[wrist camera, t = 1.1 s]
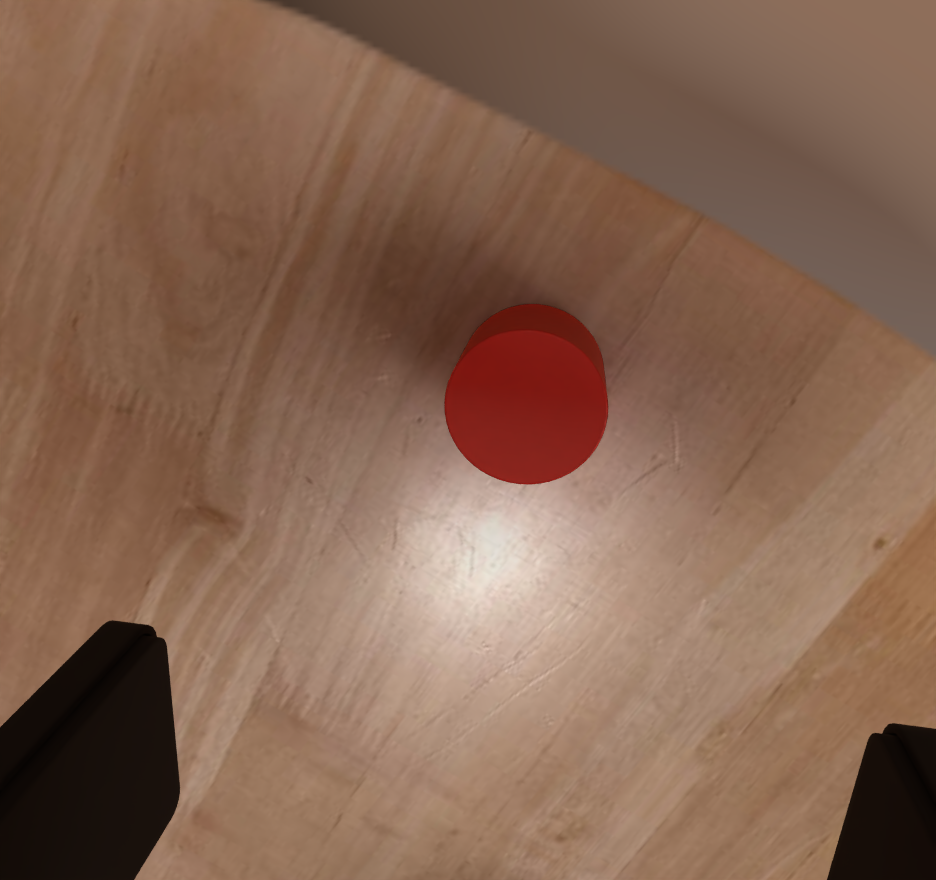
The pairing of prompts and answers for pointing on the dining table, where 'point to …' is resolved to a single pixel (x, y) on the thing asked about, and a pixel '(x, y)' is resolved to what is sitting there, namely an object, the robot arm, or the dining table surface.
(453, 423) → the cylinder
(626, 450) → the dining table surface
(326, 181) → the dining table surface
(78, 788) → the robot arm
